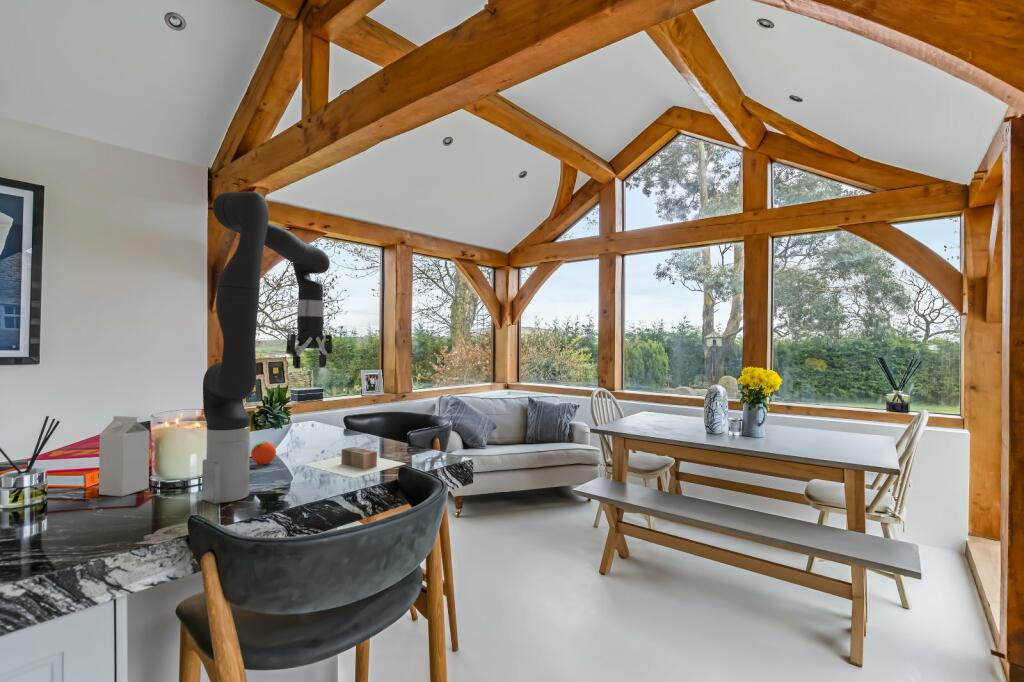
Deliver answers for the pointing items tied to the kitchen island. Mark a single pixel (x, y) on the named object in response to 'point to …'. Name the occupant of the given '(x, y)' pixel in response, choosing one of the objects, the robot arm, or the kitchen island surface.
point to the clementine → (263, 453)
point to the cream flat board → (338, 468)
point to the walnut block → (359, 458)
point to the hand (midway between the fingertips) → (309, 367)
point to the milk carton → (123, 457)
